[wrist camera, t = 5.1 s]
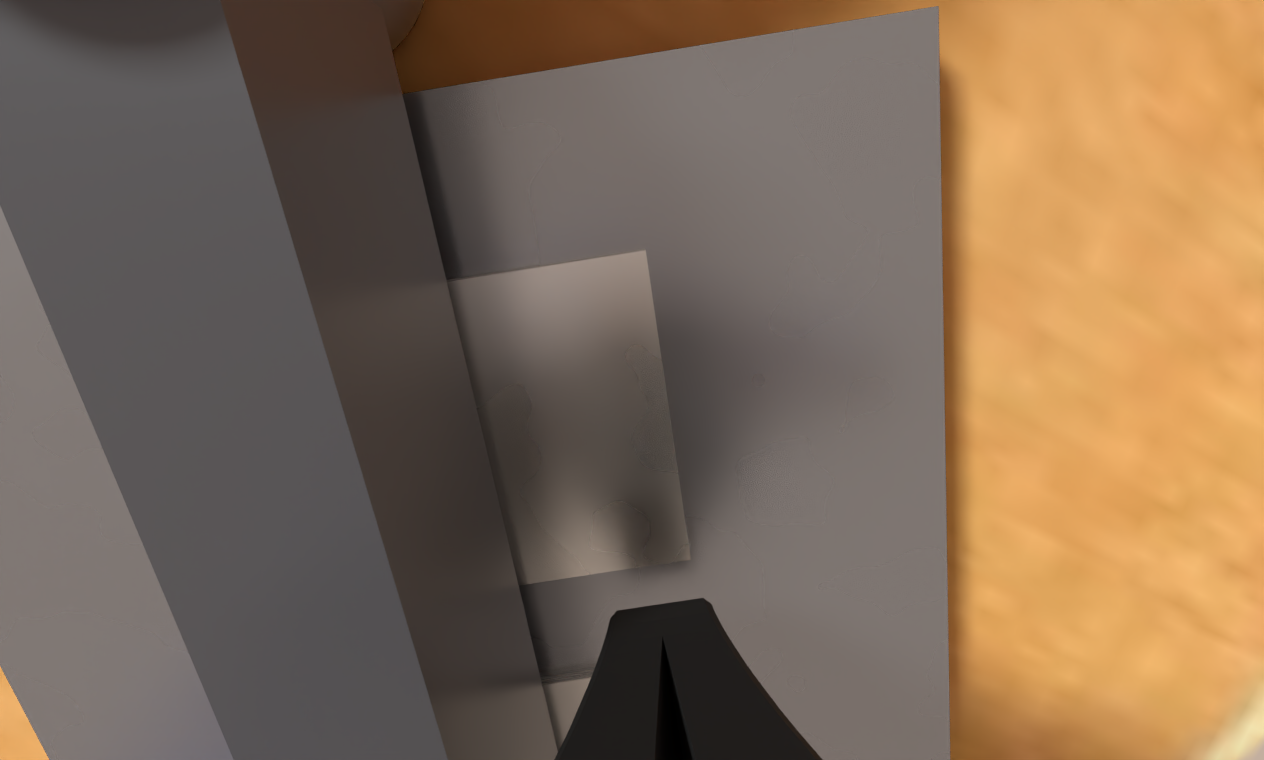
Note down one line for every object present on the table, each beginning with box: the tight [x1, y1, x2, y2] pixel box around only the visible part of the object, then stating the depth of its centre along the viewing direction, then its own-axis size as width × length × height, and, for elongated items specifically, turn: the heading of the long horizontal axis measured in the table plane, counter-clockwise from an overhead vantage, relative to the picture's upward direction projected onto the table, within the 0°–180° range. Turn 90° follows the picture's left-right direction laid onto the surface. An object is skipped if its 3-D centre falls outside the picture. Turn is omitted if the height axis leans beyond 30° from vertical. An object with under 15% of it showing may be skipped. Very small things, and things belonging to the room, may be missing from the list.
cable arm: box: [0, 0, 558, 760], centre depth 9 cm, size 20×3×6 cm, turn 9°
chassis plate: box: [0, 6, 950, 760], centre depth 12 cm, size 16×16×1 cm
